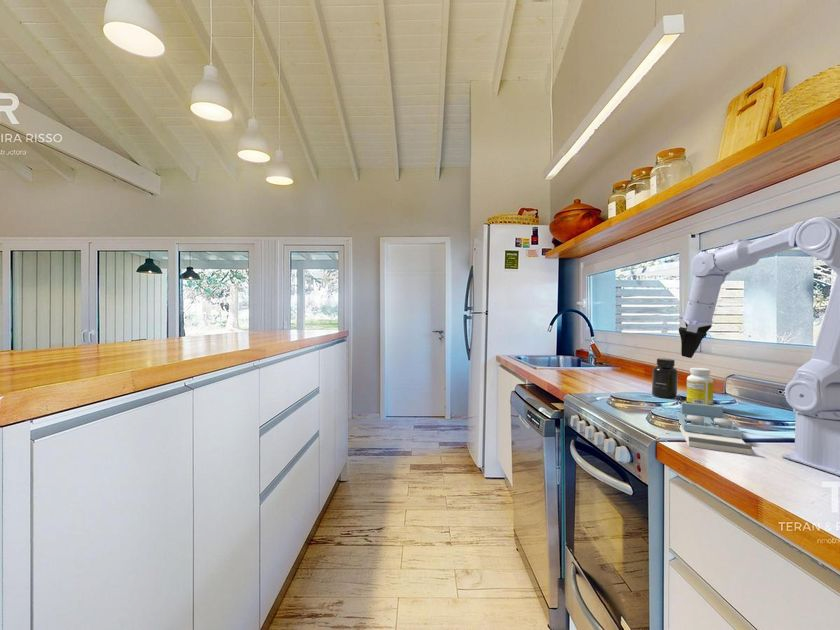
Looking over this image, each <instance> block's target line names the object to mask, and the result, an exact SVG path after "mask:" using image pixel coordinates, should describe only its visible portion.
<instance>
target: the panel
mask: <svg viewBox="0 0 840 630" xmlns="http://www.w3.org/2000/svg"><path fill="white" fill-rule="evenodd" d="M680 405H681V406H680V409H681V412H679V411H676V415H675V417H676V416H677V417H678V419H679V423H680V424H681V426H682V428H683V430H686V431H694V432H702V433H710V434H718V435H726V436H734V437H740V438H742V431H741V429H739V428H738V426H736V424H735V423H733V424H732V426H728V429H725V428H716V427H714V418H723V419H728V420H730V419H729V418H728V417H726V416H724V407H723V406H720V405H714V404H713V405H703V404H693V403H687V402H681V404H680ZM687 415H696V416H701V417H703V418H704V422H703V423H700V426H699V425H691V424H687Z"/></svg>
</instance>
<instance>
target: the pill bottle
mask: <svg viewBox="0 0 840 630" xmlns="http://www.w3.org/2000/svg"><path fill="white" fill-rule="evenodd" d="M689 373H690V375H688V376H687V377H686V403H693V404H703V405H713V406H714V379H713V378H712V377H711V376H710V375H711V369H709V368H705V367H690V368H689Z"/></svg>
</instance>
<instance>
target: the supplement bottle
mask: <svg viewBox="0 0 840 630" xmlns="http://www.w3.org/2000/svg"><path fill="white" fill-rule="evenodd" d="M675 363H676V362H675V359H673V358H665V357H664V358H662V357H661V358H660V357H659V358H657V359H656V365H657V366H655V367H653V368H652V381H651V382H652V383H651V394H652V396H654V397H656V398H660V399H669V400H670V399H677V396H678V381H679V378H678V377H679V376H678V375H679V371H678V369H677V368H675Z"/></svg>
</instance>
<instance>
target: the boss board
mask: <svg viewBox="0 0 840 630" xmlns="http://www.w3.org/2000/svg"><path fill="white" fill-rule="evenodd" d="M728 419H729V418H728ZM728 419H723V418H714V423H715V424H718V425H716V426H714V427H716V428H725V429H728V426H732V424H734V423H733V420H731V419H729V420H728ZM687 420H688V421H691V425H699V426H700V423H703V422H704V418H703V417H701V416H696V415H687ZM679 430H680V432H681V434H682V435H683V438H684V439H685V442H686V443H687V445H688V446H689V447H692V448H693V447H695V448H701V449H709V450H715V451H723V452H729V453H736V454H743V455H750V456H751V455H752V451H753V449H752V447H753V445H752V444H749V443H746V442H745V441H744V440H743V439H742V437H734V436H726V435H718V434H710V433H702V432H694V431H686V430H683V428H682V426H681V425H680V428H679Z"/></svg>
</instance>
